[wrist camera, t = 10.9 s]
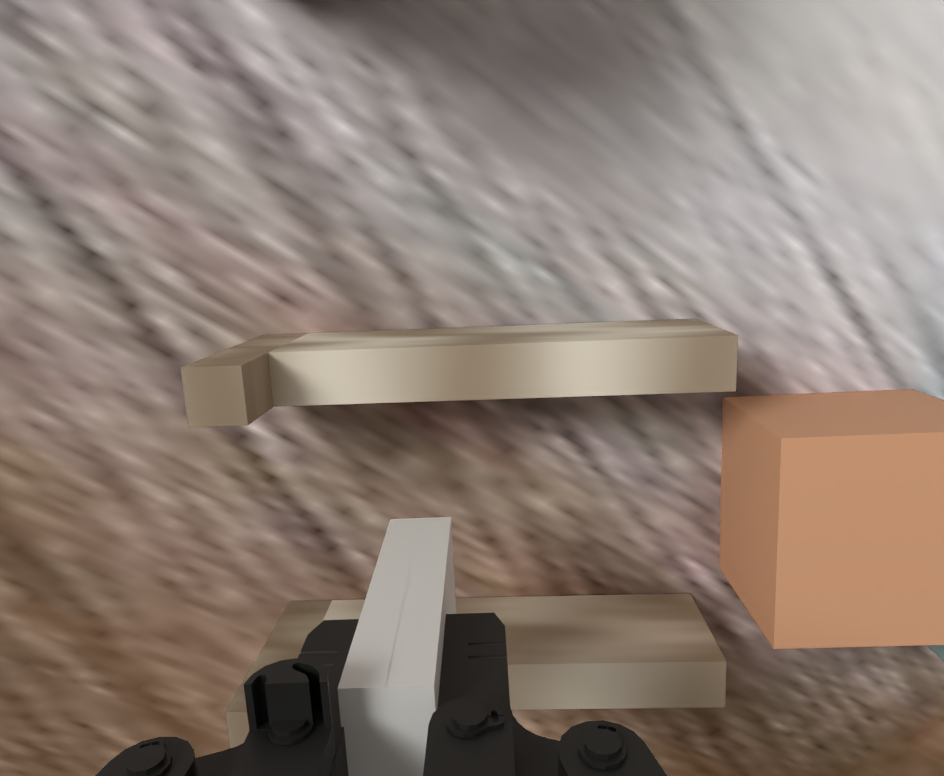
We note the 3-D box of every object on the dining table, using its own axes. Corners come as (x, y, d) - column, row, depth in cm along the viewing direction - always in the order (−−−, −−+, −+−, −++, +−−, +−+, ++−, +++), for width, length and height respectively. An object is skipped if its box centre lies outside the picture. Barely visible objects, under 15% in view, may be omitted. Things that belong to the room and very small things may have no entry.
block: (718, 566, 24) (773, 648, 19) (721, 396, 23) (781, 438, 18) (897, 560, 24) (999, 643, 19) (910, 388, 23) (1023, 429, 18)
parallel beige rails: (294, 639, 25) (231, 760, 19) (262, 334, 23) (180, 367, 17) (689, 632, 24) (748, 756, 19) (696, 318, 22) (765, 346, 16)
